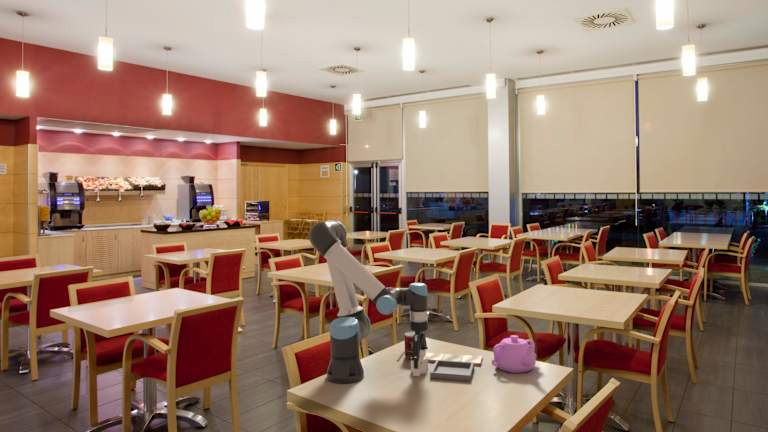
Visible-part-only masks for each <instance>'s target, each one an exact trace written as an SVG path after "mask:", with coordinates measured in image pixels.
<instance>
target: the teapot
mask: <svg viewBox="0 0 768 432" xmlns="http://www.w3.org/2000/svg"><path fill="white" fill-rule="evenodd" d="M529 343H530V344H531V345H530V344H529ZM492 349H493V350H492V351H493V359H492V360H491V364H492V365H493V366H494V367H497V368H498V369H500V370H502V371H505V372H508V373H512V374H513V373H517V374H518V373H527V372H529V371H531V370H532V369H533V368H534V367H535V366H536V362H537V361H536V360H537V354H536V353H535V349H536V342H534V340H532V339H524V338H519V335H515V334H513V335H510V336H509V337H506V338H503V339H502V340H500V343H497V344H496V345H494V346H493V348H492Z"/></svg>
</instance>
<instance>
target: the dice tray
mask: <svg viewBox="0 0 768 432" xmlns="http://www.w3.org/2000/svg"><path fill="white" fill-rule="evenodd" d="M474 369H475V366H474V362H463V361H448V360H436V362H435V363H434V364H433V365H432V368H431V370H430V372H429V379H433V380H444V381H446V380H447V381H456V382H457V381H458V382H471V380H472V377H473V373H474Z"/></svg>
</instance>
